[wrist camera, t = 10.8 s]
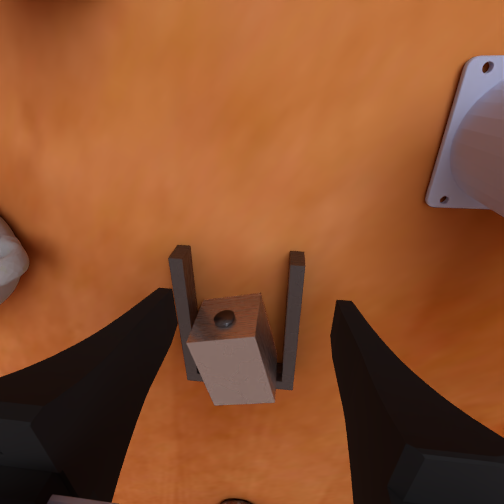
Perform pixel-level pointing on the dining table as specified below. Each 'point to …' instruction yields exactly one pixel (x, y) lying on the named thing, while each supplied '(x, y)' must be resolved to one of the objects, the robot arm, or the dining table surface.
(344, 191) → the dining table surface
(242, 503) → the sauce bottle
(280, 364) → the channel bracket
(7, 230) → the teacup
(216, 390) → the block
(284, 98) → the dining table surface
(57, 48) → the dining table surface
